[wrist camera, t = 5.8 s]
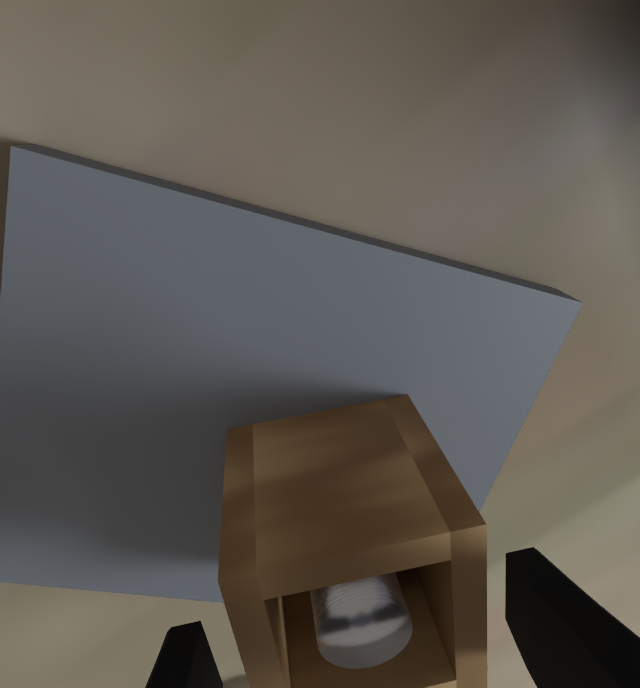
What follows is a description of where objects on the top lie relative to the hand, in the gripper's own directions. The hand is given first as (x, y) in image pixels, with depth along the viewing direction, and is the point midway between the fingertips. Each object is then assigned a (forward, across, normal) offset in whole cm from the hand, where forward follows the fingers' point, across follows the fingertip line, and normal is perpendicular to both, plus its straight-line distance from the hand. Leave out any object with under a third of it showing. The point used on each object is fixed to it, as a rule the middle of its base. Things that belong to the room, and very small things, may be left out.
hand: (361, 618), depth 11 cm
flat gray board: (+6, +1, -2) cm, 6 cm away
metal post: (+6, 0, 0) cm, 6 cm away
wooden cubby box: (+4, 0, 0) cm, 4 cm away
